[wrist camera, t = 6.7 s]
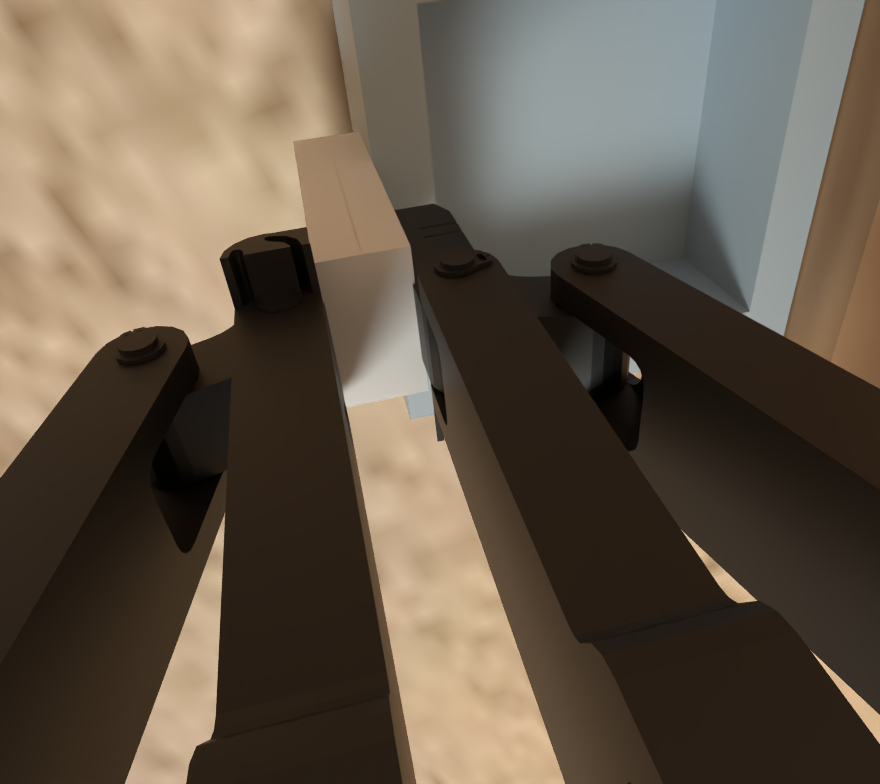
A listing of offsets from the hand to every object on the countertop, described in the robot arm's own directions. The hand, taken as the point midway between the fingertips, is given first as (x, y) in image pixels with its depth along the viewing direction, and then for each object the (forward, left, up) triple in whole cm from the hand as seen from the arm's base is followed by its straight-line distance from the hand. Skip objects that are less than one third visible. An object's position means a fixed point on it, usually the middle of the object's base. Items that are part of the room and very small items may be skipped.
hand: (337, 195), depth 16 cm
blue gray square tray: (+6, 0, -2) cm, 6 cm away
